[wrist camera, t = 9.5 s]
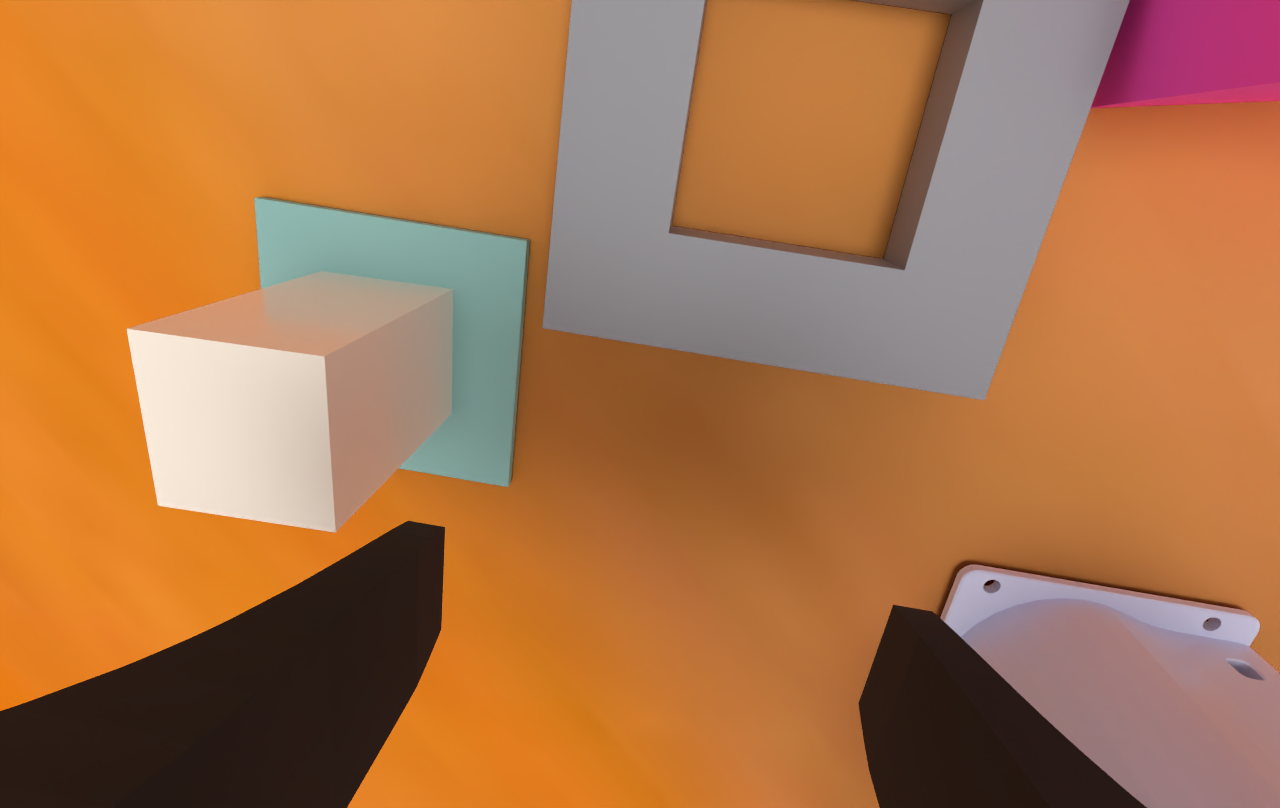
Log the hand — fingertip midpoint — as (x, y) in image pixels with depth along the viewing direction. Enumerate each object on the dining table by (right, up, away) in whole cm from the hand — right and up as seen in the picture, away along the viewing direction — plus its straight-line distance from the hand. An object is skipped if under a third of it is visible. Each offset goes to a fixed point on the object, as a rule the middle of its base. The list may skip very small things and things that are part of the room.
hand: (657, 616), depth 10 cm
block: (-8, +5, +10) cm, 13 cm away
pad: (-8, +5, +10) cm, 14 cm away
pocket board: (+4, +11, +7) cm, 13 cm away
